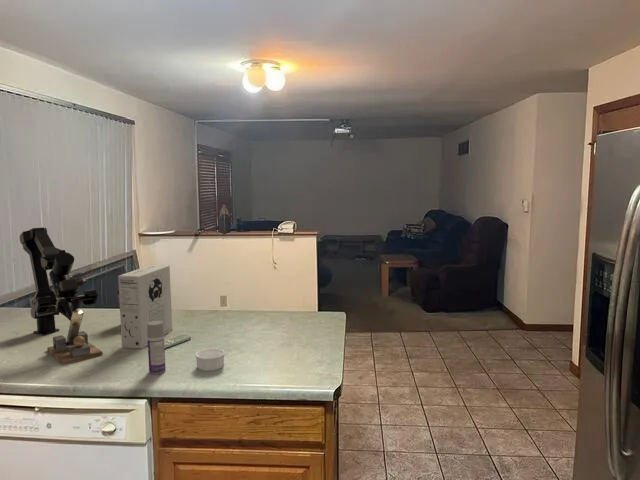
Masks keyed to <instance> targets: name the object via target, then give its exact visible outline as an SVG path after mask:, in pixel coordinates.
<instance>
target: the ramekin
mask: <svg viewBox="0 0 640 480" xmlns="http://www.w3.org/2000/svg"><path fill="white" fill-rule="evenodd" d="M225 354H226V353H225V350H224V349H222V348H213V347H212V348H209V347H208V348H204V349H200V350H198V351H196V352H195V359H196V367H197V368H198V369H199V370H201V371H204V372H205V371H206V372H213V371H218V370H220V369H221V368H223V367H224V364H225Z"/></svg>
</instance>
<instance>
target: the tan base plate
mask: <svg viewBox="0 0 640 480" xmlns="http://www.w3.org/2000/svg"><path fill="white" fill-rule="evenodd" d="M66 340H67V337H65V336H64V335H63V334H62V335H61V334H60V335H55V336H52V343H53V344H52V345H53V346H47V348H46V349H47V352H48V353H50V354H51V355H52V356H53V357H54V358H56V359H57V361H59V362H60V363H61V364H62V365H65V364H70V363H74V362H78V361H82V360H86V359H87V360H88V359H91V358H96V357H100V356H103V351H102V350H101V349H100V348H98V347H96V346H95V345H93V343H90V342H89V339H88V332H86V331H84V330H81V331H80V330H79V333H78V336H77V337H75V338H74V340H73V343H74V345H70V346H66Z"/></svg>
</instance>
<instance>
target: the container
mask: <svg viewBox="0 0 640 480" xmlns="http://www.w3.org/2000/svg"><path fill="white" fill-rule="evenodd" d="M147 335H148V345H147V353H148V357H147V358H148V373H149V374H150V375H154V374H156V375H161V374H164V373H166V371H167V370H166V349H165V335H164V330H163V322H162V321H151V322H148V323H147Z"/></svg>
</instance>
